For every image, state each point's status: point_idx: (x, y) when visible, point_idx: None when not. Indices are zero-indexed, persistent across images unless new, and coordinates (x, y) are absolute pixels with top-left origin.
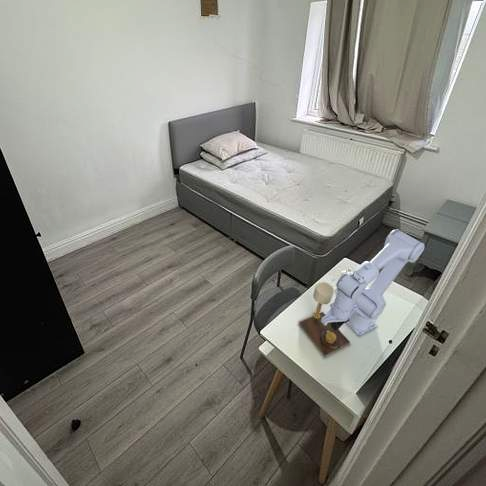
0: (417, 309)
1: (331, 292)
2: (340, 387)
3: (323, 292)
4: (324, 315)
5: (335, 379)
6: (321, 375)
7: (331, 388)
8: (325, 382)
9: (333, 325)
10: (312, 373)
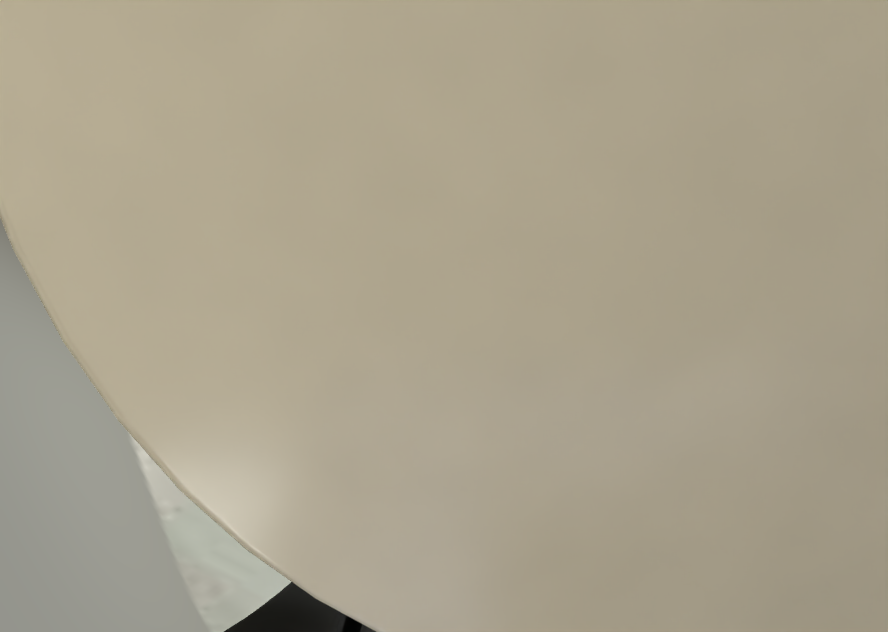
0: None
1: (854, 607)
2: (250, 611)
3: (323, 284)
4: None
5: (258, 570)
6: (194, 513)
7: (195, 589)
8: (187, 552)
9: None
10: (147, 476)
